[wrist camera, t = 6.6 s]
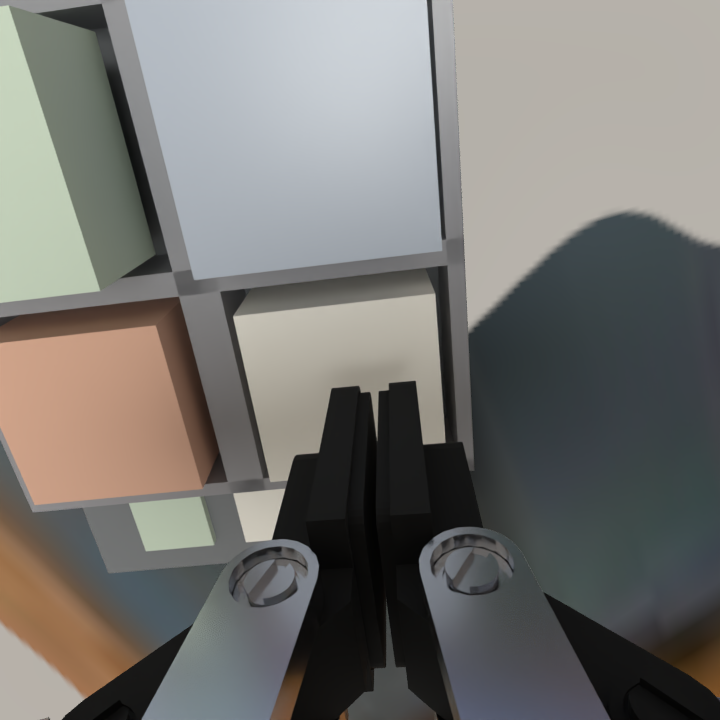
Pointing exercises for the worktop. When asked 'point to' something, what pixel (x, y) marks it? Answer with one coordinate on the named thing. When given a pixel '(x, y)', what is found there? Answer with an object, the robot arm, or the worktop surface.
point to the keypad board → (216, 324)
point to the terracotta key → (105, 402)
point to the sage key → (62, 165)
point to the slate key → (293, 128)
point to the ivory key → (336, 354)
